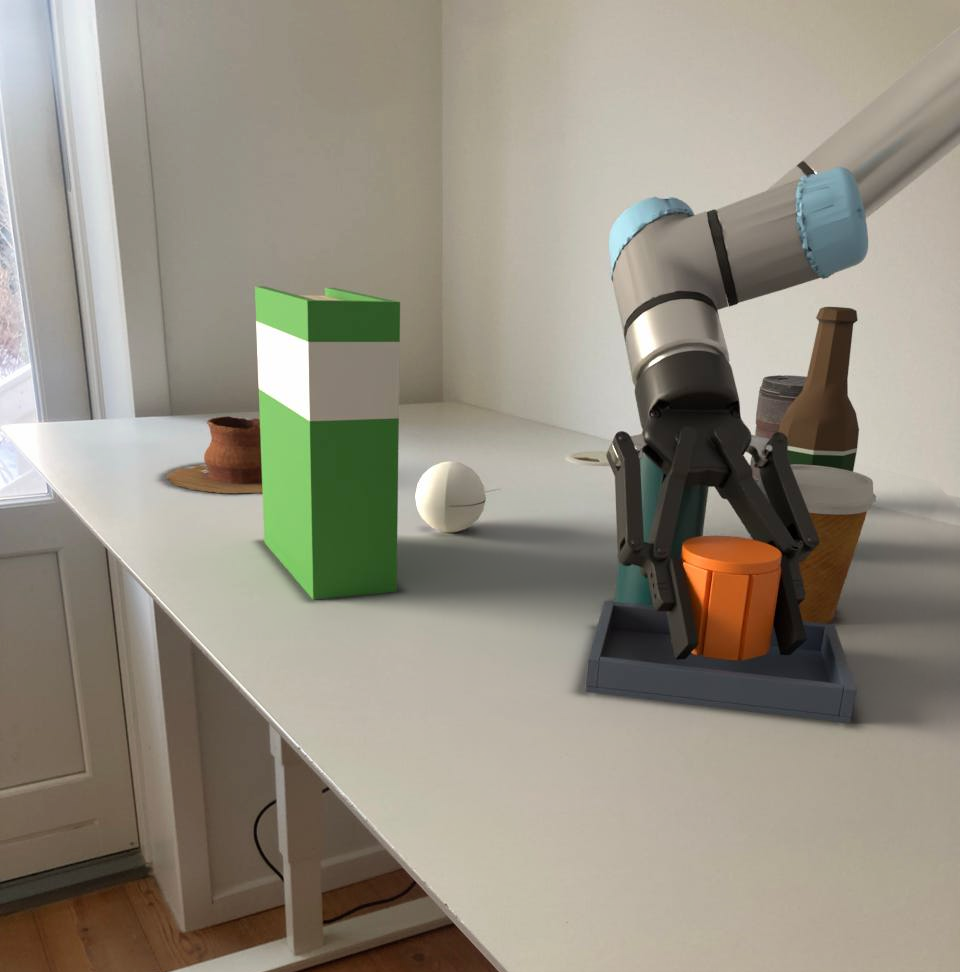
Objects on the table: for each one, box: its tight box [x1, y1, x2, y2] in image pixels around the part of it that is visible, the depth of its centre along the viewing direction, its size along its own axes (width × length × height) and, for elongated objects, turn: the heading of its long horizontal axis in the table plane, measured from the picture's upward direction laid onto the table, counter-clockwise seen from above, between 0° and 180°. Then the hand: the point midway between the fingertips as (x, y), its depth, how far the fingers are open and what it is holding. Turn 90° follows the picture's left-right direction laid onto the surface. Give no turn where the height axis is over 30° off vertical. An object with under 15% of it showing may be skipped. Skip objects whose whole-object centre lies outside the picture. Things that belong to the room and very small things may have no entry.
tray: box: [584, 600, 858, 724], centre depth 74 cm, size 18×13×3 cm
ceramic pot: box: [165, 415, 263, 494], centre depth 125 cm, size 18×18×7 cm
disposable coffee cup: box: [757, 464, 877, 624], centre depth 86 cm, size 10×10×12 cm
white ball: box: [415, 461, 501, 534], centre depth 107 cm, size 10×7×7 cm
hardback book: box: [254, 285, 401, 601], centre depth 90 cm, size 18×7×24 cm, turn 24°
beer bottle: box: [779, 306, 860, 472], centre depth 102 cm, size 8×8×24 cm
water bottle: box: [613, 453, 710, 606], centre depth 83 cm, size 7×7×16 cm
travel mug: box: [749, 374, 807, 483], centre depth 121 cm, size 8×8×15 cm
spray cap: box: [671, 535, 782, 661], centre depth 73 cm, size 7×7×7 cm
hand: (740, 649), depth 71 cm, fingers closed on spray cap, 7 cm apart
